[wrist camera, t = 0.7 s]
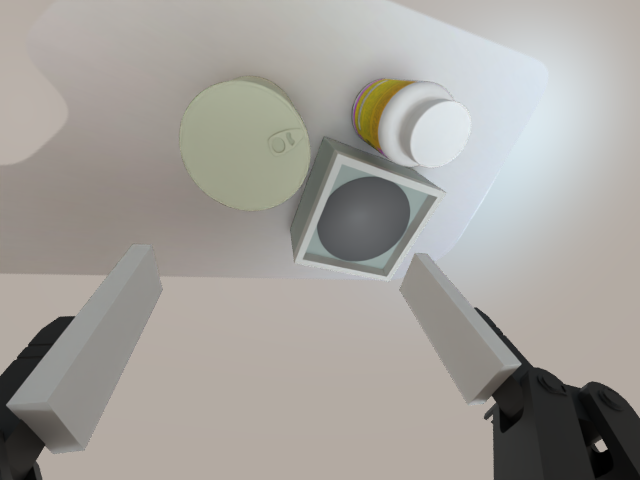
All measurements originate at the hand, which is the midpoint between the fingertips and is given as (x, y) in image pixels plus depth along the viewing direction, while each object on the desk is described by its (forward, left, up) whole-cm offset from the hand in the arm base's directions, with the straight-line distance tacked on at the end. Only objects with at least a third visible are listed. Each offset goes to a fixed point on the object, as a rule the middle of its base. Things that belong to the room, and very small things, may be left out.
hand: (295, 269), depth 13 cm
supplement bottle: (+9, +9, -21) cm, 24 cm away
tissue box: (+10, -2, -21) cm, 23 cm away
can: (-4, +3, -21) cm, 21 cm away
